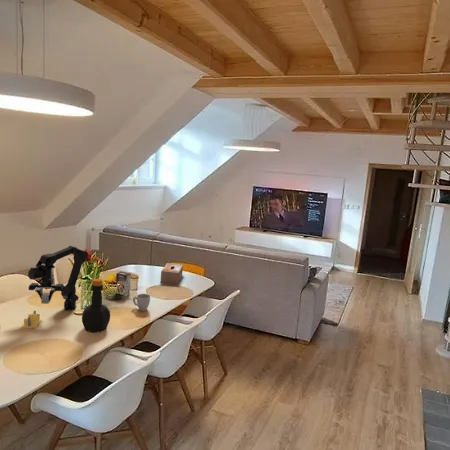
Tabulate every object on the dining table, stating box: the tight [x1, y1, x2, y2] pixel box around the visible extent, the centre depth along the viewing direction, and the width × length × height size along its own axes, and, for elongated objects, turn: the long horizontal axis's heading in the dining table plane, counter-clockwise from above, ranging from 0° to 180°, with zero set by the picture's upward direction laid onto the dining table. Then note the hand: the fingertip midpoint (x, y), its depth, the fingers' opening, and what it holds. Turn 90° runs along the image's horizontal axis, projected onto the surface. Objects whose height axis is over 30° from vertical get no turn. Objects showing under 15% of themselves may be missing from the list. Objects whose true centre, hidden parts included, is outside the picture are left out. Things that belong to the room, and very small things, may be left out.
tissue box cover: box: [160, 262, 184, 285], centre depth 329 cm, size 26×14×10 cm, turn 178°
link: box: [40, 292, 52, 305], centre depth 232 cm, size 4×5×5 cm
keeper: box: [20, 310, 43, 329], centre depth 223 cm, size 8×11×6 cm
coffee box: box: [115, 270, 132, 297], centre depth 283 cm, size 9×6×16 cm
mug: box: [132, 293, 151, 312], centre depth 258 cm, size 12×9×10 cm
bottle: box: [81, 278, 111, 334], centre depth 223 cm, size 16×16×30 cm
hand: (46, 300), depth 233 cm, fingers closed on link, 4 cm apart
